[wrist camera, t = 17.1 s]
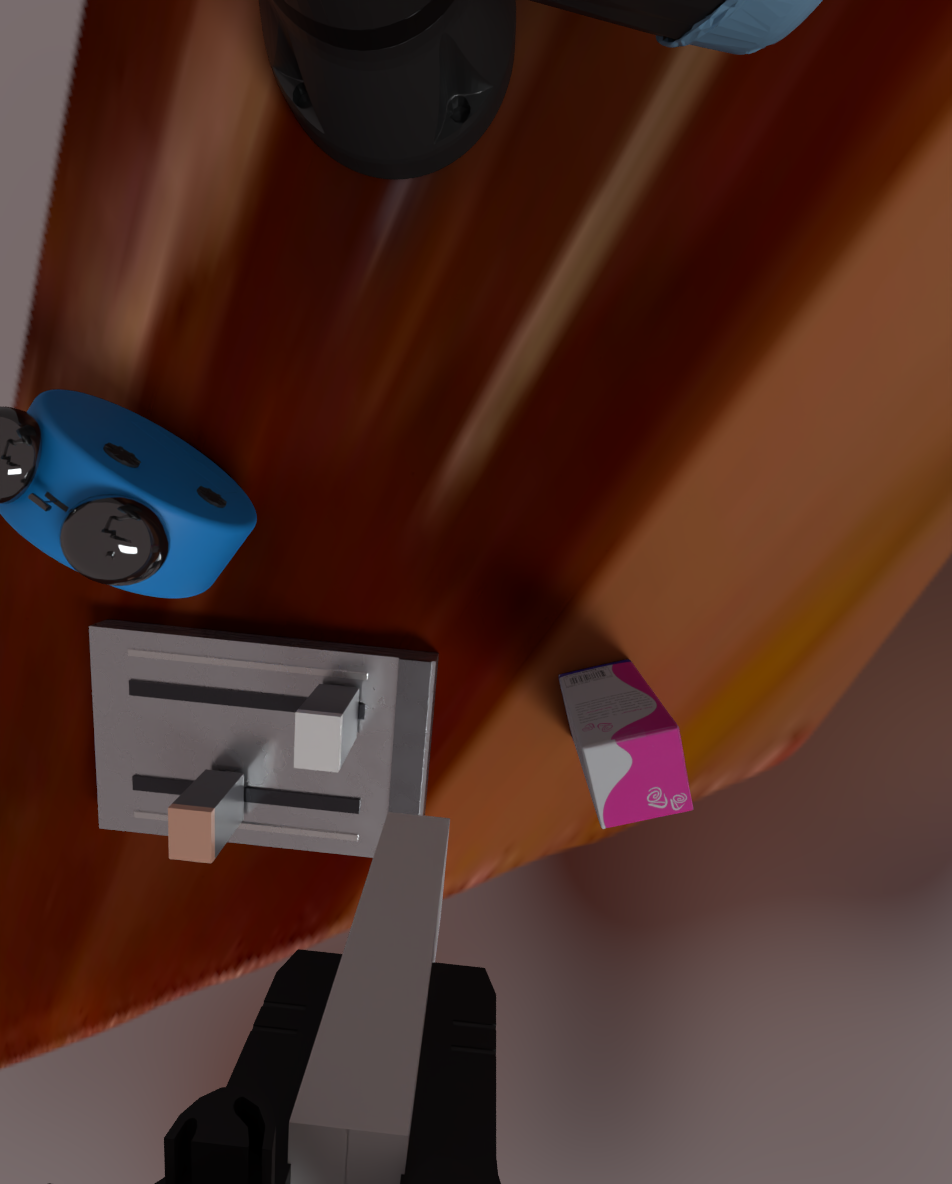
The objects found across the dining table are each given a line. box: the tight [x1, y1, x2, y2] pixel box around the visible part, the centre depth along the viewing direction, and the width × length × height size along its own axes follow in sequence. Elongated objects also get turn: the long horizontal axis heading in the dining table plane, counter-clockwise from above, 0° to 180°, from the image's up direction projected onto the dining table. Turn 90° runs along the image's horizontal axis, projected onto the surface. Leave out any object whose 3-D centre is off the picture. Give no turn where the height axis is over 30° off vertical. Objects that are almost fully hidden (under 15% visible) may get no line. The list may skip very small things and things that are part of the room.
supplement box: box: [559, 659, 693, 829], centre depth 38 cm, size 6×6×12 cm
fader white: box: [294, 684, 359, 773], centre depth 39 cm, size 4×3×5 cm
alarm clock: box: [0, 389, 257, 598], centre depth 34 cm, size 13×6×15 cm, turn 50°
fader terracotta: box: [168, 769, 244, 863], centre depth 41 cm, size 4×3×5 cm
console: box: [89, 619, 439, 858], centre depth 44 cm, size 17×26×2 cm, turn 85°
